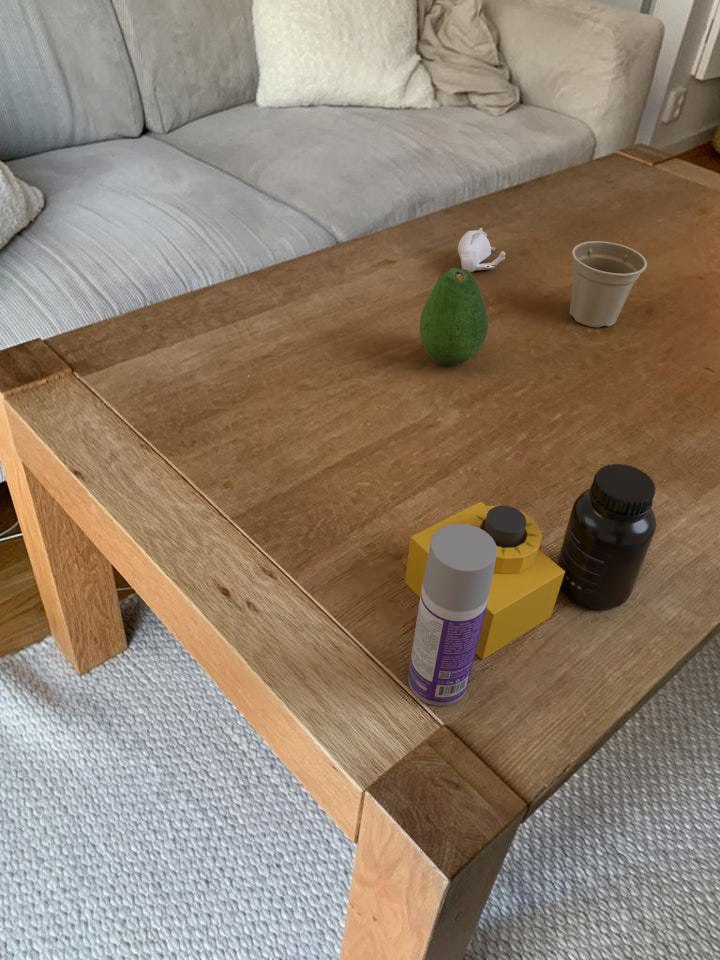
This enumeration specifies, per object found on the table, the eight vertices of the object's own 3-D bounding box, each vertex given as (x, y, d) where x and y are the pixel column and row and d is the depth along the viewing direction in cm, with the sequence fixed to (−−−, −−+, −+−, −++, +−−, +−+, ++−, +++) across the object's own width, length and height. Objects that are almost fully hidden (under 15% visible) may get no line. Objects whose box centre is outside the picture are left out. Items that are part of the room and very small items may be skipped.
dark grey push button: (530, 538, 66) (534, 522, 65) (502, 553, 65) (506, 538, 64) (503, 515, 68) (506, 500, 67) (475, 530, 67) (478, 514, 66)
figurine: (519, 244, 121) (500, 276, 113) (481, 259, 125) (460, 291, 116) (503, 207, 119) (483, 237, 110) (465, 223, 122) (442, 254, 114)
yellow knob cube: (555, 614, 70) (575, 553, 65) (482, 660, 66) (497, 598, 61) (476, 544, 76) (488, 483, 71) (404, 582, 72) (412, 520, 67)
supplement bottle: (584, 544, 76) (617, 444, 69) (645, 588, 73) (688, 487, 65) (536, 578, 73) (565, 476, 65) (598, 625, 69) (637, 523, 61)
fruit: (494, 361, 100) (511, 270, 92) (457, 388, 95) (472, 294, 87) (440, 337, 103) (452, 248, 96) (402, 361, 99) (412, 269, 91)
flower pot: (623, 303, 113) (640, 244, 107) (634, 338, 106) (653, 277, 100) (555, 296, 113) (568, 237, 108) (561, 331, 106) (576, 270, 100)
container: (472, 664, 65) (503, 530, 56) (461, 713, 62) (493, 579, 52) (415, 650, 66) (436, 515, 56) (401, 697, 63) (422, 562, 53)
